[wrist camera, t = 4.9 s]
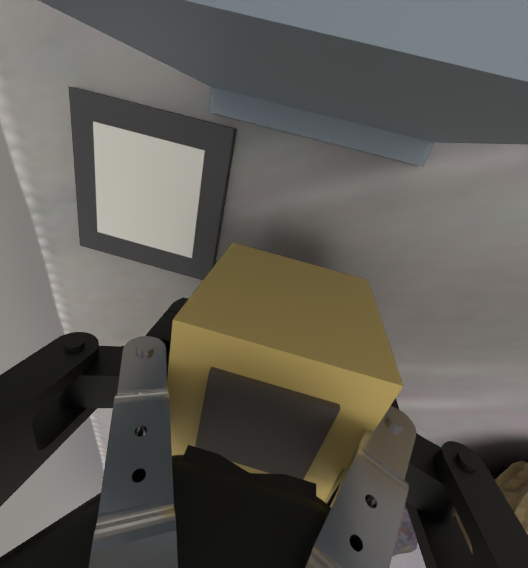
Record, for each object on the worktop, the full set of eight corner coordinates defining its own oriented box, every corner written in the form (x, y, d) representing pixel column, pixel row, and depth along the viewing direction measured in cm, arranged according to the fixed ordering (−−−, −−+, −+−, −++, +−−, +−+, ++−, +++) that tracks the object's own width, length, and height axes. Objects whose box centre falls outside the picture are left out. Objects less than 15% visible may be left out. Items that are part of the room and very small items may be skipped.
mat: (76, 87, 18) (67, 85, 17) (236, 129, 17) (233, 128, 17) (85, 242, 22) (79, 245, 22) (212, 278, 22) (209, 282, 21)
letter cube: (228, 241, 13) (161, 321, 7) (367, 279, 13) (405, 392, 7) (209, 345, 16) (152, 458, 10) (323, 378, 15) (325, 512, 10)
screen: (224, 25, 15) (-193, -478, 3) (455, 81, 15) (1209, -244, 2) (213, 113, 17) (-69, 41, 5) (418, 165, 17) (721, 242, 4)
